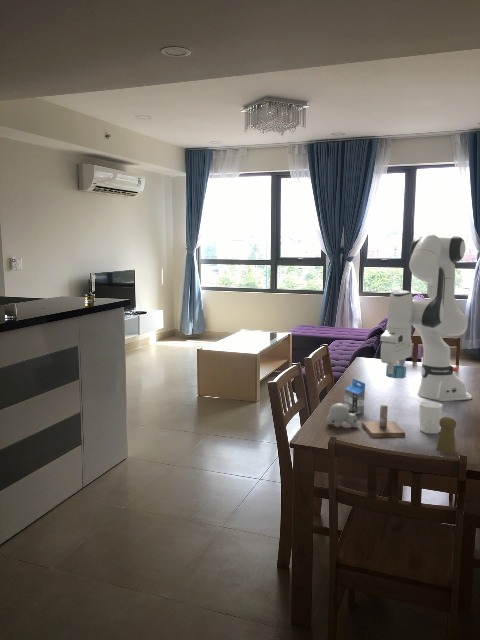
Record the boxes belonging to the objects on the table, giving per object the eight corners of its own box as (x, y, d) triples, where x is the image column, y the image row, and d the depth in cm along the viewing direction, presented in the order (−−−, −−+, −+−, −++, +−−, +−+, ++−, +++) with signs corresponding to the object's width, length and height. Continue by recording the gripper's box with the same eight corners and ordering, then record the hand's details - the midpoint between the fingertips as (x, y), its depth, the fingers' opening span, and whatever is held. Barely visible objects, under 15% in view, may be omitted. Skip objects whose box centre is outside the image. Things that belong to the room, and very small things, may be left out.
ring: (391, 373, 202) (391, 364, 202) (407, 376, 198) (408, 366, 198) (383, 376, 197) (384, 366, 197) (400, 379, 193) (401, 369, 193)
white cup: (414, 427, 199) (416, 401, 198) (435, 426, 200) (436, 400, 198) (423, 434, 191) (425, 407, 190) (444, 434, 192) (446, 407, 191)
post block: (393, 425, 201) (394, 400, 200) (405, 436, 190) (406, 410, 188) (362, 425, 201) (362, 401, 199) (371, 437, 189) (372, 411, 187)
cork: (439, 445, 181) (441, 414, 180) (457, 449, 178) (460, 417, 176) (434, 451, 177) (436, 419, 175) (453, 455, 173) (455, 422, 172)
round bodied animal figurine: (353, 437, 196) (363, 418, 193) (323, 422, 198) (332, 403, 196) (355, 430, 202) (365, 411, 200) (326, 416, 205) (335, 397, 203)
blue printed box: (343, 408, 222) (344, 379, 220) (351, 407, 223) (352, 378, 222) (356, 414, 214) (357, 384, 212) (364, 413, 215) (365, 383, 213)
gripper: (401, 331, 206) (399, 366, 208) (378, 336, 190) (375, 374, 192) (417, 333, 202) (414, 369, 204) (395, 339, 186) (392, 377, 188)
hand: (395, 372), depth 198 cm, fingers closed on ring, 7 cm apart
